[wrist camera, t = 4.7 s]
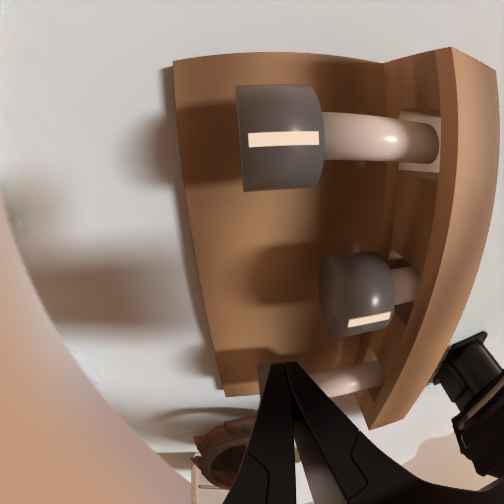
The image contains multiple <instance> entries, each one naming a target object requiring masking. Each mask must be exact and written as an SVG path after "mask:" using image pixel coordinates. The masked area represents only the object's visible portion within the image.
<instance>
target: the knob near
mask: <svg viewBox="0 0 504 504" xmlns="http://www.w3.org/2000/svg"><path fill="white" fill-rule="evenodd" d="M235 98H236V117H237V131H238V144H239V156H240V167H241V177H242V186H243V192H254V191H268V190H283V189H300V188H313V187H315V186H316V185H317V183H318V181H319V179H320V176H321V173H322V169H323V163H324V160H367V161H390V162H406V163H419V164H431V163H433V162H434V161H435V160H436V158H437V156H438V153H439V138H438V135H437V132H436V131H435V129H434V128H433V127H432V126H431V125H429V124H425V123H420V122H414V121H408V120H402V119H395V118H388V117H380V116H372V115H362V114H350V113H335V112H322V111H321V107H320V103H319V100H318V97H317V95H316V93H315V91H314V90H313V88H312V87H311V86H309V85H302V84H263V85H242V86H235Z"/></svg>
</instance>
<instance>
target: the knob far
mask: <svg viewBox="0 0 504 504" xmlns="http://www.w3.org/2000/svg"><path fill="white" fill-rule="evenodd" d="M296 362H297V361H296ZM282 363H284V362H282ZM270 365H271V364H265V365H257V375H258V385H259V394H260V400H261V397H262V393H263V390H264V386H265V382H266V378H267V375H268V371H269V367H270ZM308 375H309V376H310V377H311V378H312V379H313V380H314V382H315V383H316V384H317V385H318V386H319V387H320V388H321V389H322V390H323V391H324V393H325V394H326V395H327V396H328V397H329V398H330V397H335V396H340V395H344V394H348V393H352V392H356V391H360V390H364V389H368V388H371V387H375V386H378V385H382V384H383V382H384V378H385V373H384V371H383V369H382V367H381V365H380V363H379V361H378V360H374V361H370V362H366V363H361V364H357V365H353V366H348V367H344V368H339V369H334V370H329V371H323V372H318V373H312V374H308Z"/></svg>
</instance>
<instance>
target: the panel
mask: <svg viewBox="0 0 504 504" xmlns="http://www.w3.org/2000/svg"><path fill="white" fill-rule="evenodd" d="M173 74H174V90H175V103H176V115H177V126H178V136H179V146H180V155H181V163H182V171H183V179H184V187H185V194H186V201H187V208H188V215H189V222H190V228H191V234H192V240H193V246H194V252H195V258H196V264H197V269H198V275H199V280H200V285H201V290H202V295H203V300H204V305H205V310H206V315H207V320H208V324H209V329H210V334H211V338H212V343H213V347H214V351H215V355H216V360H217V364H218V368H219V372H220V376H221V380H222V384H223V388H224V392H225V396H226V397H234V396H247V395H258V394H259V385H258V375H257V365H265V364H273V363H282V362H288V361H297V363H298V364H299V365H300V366H301V367H302V368H303V369H304V370H305V372H306V373H307V374H312V373H318V372H323V371H329V370H334V369H339V368H344V367H348V366H353V365H357V364H361V363H366V362H370V361H374V360H378V361H379V363H380V365H381V367H382V369H383V371H384V373H385V378H384V382H383V384H382V385H378V386H375V387H371V388H368V389H364V390H360V391H356V392H354V393H355V396H356V398H357V401H358V403H359V406H360V408H361V411H362V413H363V416H364V419H365V421H366V424H367V427H368V429H369V430H372V429H376V428H379V427H382V426H385V425H387V424H390V423H393V422H396V421H398V420H401V419H404V417H405V416H406V415H407V413H408V412H409V410H410V409H411V407H412V406H413V404H414V403H415V401H416V400H417V398H418V397H419V395H420V394H421V392H422V391H423V389H424V387H425V386H426V384H427V382H428V381H429V379H430V377H431V376H432V374H433V372H434V371H435V369H436V367H437V365H438V363H439V361H440V360H441V358H442V356H443V354H444V352H445V350H446V348H447V346H448V344H449V342H450V340H451V338H452V336H453V334H454V331H455V329H456V327H457V325H458V322H459V320H460V318H461V315H462V313H463V311H464V308H465V306H466V303H467V300H468V298H469V295H470V292H471V289H472V287H473V284H474V281H475V278H476V275H477V272H478V268H479V265H480V262H481V258H482V255H483V251H484V247H485V243H486V239H487V235H488V230H489V226H490V221H491V216H492V210H493V205H494V198H495V191H496V183H497V174H498V163H499V143H500V118H499V98H498V87H497V78H496V71H495V70H494V69H492V68H490V67H489V66H487V65H485V64H484V63H482V62H480V61H478V60H476V59H475V58H473V57H471V56H469V55H467V54H465V53H463V52H461V51H459V50H457V49H455V48H453V47H448V48H442V49H437V50H433V51H428V52H424V53H420V54H415V55H411V56H408V57H404V58H400V59H397V60H393V61H390V62H386V63H383V64H382V63H377V62H372V61H367V60H361V59H355V58H348V57H341V56H333V55H323V54H311V53H293V52H251V53H233V54H221V55H211V56H203V57H195V58H188V59H182V60H176V61H173ZM263 84H302V85H309V86H311V87H312V88H313V90H314V91H315V93H316V95H317V97H318V100H319V103H320V107H321V111H322V112H335V113H350V114H362V115H372V116H380V117H388V118H395V119H402V120H408V121H414V122H420V123H425V124H429V125H431V126H432V127H433V128H434V129H435V131H436V132H437V135H438V138H439V153H438V156H437V158H436V160H435V161H434V162H433V163H431V164H419V163H406V162H390V161H367V160H324V163H323V169H322V173H321V176H320V179H319V181H318V183H317V185H316V186H315V187H313V188H300V189H283V190H268V191H254V192H243V186H242V177H241V167H240V156H239V144H238V131H237V117H236V98H235V86H242V85H263ZM369 251H376V252H378V253H380V254H381V255H382V256H383V257H384V259H385V260H386V262H387V263H388V265H389V268H390V270H391V269H398V268H404V267H411V266H412V267H414V268H415V269H416V270H417V271H418V272H419V273H420V274H421V275H422V277H421V281H420V285H419V288H418V292H417V295H416V299H415V301H412V302H408V303H403V304H399V305H395V308H394V313H393V316H392V319H391V321H390V323H389V324H388V325H387V326H386V327H385V328H383V329H379V330H374V331H370V332H365V333H360V334H355V335H350V336H345V337H340V338H333V337H332V336H330V334H329V333H328V331H327V329H326V326H325V324H324V321H323V317H322V313H321V307H320V301H319V288H318V279H319V268H320V264H321V261H322V259H323V258H324V257H325V256H331V255H341V254H350V253H360V252H369Z"/></svg>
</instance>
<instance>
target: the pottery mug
mask: <svg viewBox="0 0 504 504" xmlns="http://www.w3.org/2000/svg"><path fill="white" fill-rule="evenodd" d="M255 418H256V417H253V418H245V419H238V420H233V421H227V422H225V424H224V427H222V426H217V427H215V428H214V429H212V430H211V431H210V432H208V433H207V434H206V435H204V436H201V437H200V436H195V437H193V438H194V440H195V444H196V446H197V449H198V451H199V452H200V454H201V456H195V457H194V458H191V460H192V462H193V463H194V464H195V465H196V466H197V468H198V469H200V470H201V474H202V475H203V476H204V477H205V478H206V479H207V480H208V481H209V482H210V483H211V484H213V485H215V486H217V487H219V488H222V489H225V490H229V491H230V489H231V487H232V485H233V483H234V480H235V478H236V476H237V474H238V471H239V468H240V466H241V463H242V460H243V457H244V454H245V452H246V448H247V446H246V445H248V441H249V438H250V435H251V431H252V428H253V425H254V421H255Z"/></svg>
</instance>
